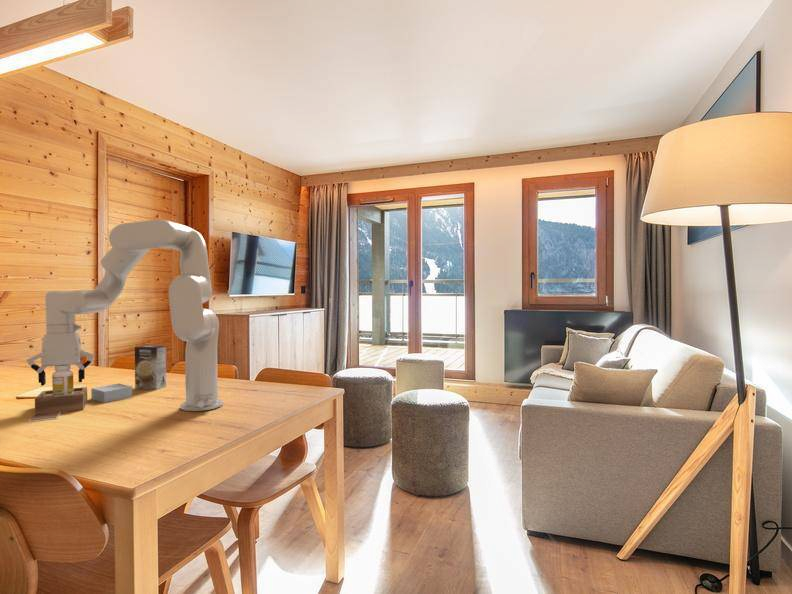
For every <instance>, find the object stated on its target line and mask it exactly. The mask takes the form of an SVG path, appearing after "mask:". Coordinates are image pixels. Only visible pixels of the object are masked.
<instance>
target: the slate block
mask: <svg viewBox="0 0 792 594" xmlns="http://www.w3.org/2000/svg"><path fill="white" fill-rule="evenodd" d="M90 389H91V395H90V396H91V397H90V398H91V400H94V401H97V402H101V403H104V404H106V403H109V402H115V401H119V400H125V399H131V398H133V386H131V385H128V384H123V383H114V384H108V385H103V386H97V387H92V388H90Z"/></svg>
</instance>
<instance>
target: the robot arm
mask: <svg viewBox="0 0 792 594" xmlns="http://www.w3.org/2000/svg"><path fill="white" fill-rule="evenodd" d="M203 237H204V236H203V235H202V234H201V233H200V232H199V231H197V230H195V229H194V228H192V227H189V226H187V225H184V224H182V223H179V222H176V221H175V222H174V221H171V220H168V219H151V220H150V219H149V220H142V221H134V222H125V223H120V224H117V225H116V226H114V227H113V228H111V230H110V232H109V235H108V241H109V244H110V245H111V248H110V249H109V250H108V251H107V253H105V255H104V256H103V257H102V258H101V260H100V265H101V267H102V269H104V275H103V277H102V279H101V280H100V282H99V283H98V284H97V285H96V286H95V287H94V288H93V289H81V290H71V291H70V290H51V291H47V292H46V293H45V298H44V299H45V327H46V328H45V334H43V336H42V341H41V352H39V353H38V354H36V355H33V356H31V357H29V358H27V359H26V362H27V364H28V365H29V366H30V368H31V369H32V370H34V371H35V372H36V373H37V374H38V383H39V384H40V386H41V387H43V386H45V385H46V379H47V378H46V371H45V369H46V368H47V367H55V366H62V365H70V366H71V365H72V366H73V365H75V366H77V367H78V368H79V369H78V383H82V382H83V380H85V369H86V368H87V367H88V366H89V365H91V363H92V361H93V360H94V358H95V354H92V353H91V352H87V351H86V350H85V351H84V350H82V343H81V337H80V333H79V332H77V331H79V330H81V329H82V325H81V324H80V325H79V324H77V323H76V315H87V314H97V313H102V312H104V311H105V310H106V309H108V308H109V307H110V306H111V305H112V304H113V303H114V302H115V301H116V300H117V298H119V296H120V295H121V293H122V292H123V290H124V288H125V285H126V281H127V277H128V275H129V274H130V273H131V272H132V270H133V269H134V268H135V267H136V266H137V265H138V264H139V263H140V261H141V260H142V259H143V258H144V257H145V256H146V255H147V253H148V252H149V251H150V250H151V249H161V248H162V249H168V250H175V251H179V253H180V256H179V269H180V275H178V276H176V277H175V278H174V279H173V280H172V281H171V283H170V284H169V287H168V295H167V296H168V304H169V313H170V322H171V327H172V330H173V333H174V335H175V336H176V337H177V338H178V339H179V340H181V341H184V342H186V343H185V349H184V351H185V353H184V354H185V355H184V356H185V357H184V358H185V359H184V361H185V363H184V364H185V370H184V371H185V401H183V402H182V403H181V404H180V409H181V410H183V411H186V412H202V411H203V412H204V411H211V410H215V409H217V408H219V407H221V406H223V404H224V400H222V399H221V398H219V396H218V395H219V394H218V393H219V392H218V389H219V387H218V386H219V385H218V341H219V332H220V321H219V317H218V316H217V315H216V313H215V312H214V311H212V310H211V309H208V308H204V306H203V304H205V303H206V302H208V301H210V299H211V298H212V295H213V289H212V287H213V286H212V280H211V272H210V271H211V270H210V265H209V264H210V263H209V255H208V248H207V244H206V241H205V239H204V238H203ZM82 357H85V358H87V359H86V361H85V362H84V363H83V362H82ZM38 359H40V362H41V365H38V364H37V363H36V362H35V361H36V360H38Z"/></svg>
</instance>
